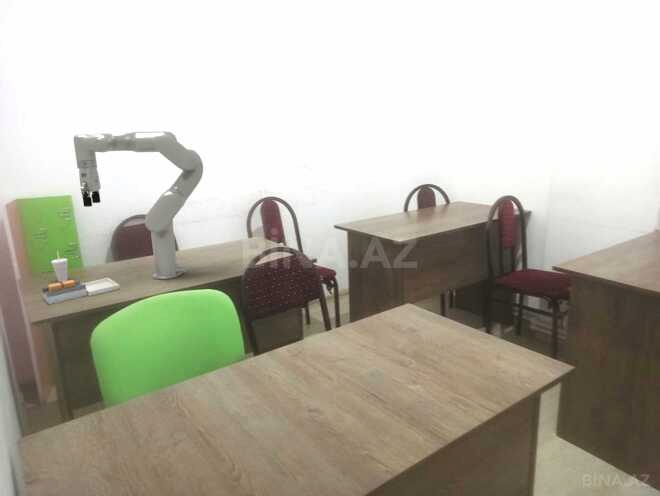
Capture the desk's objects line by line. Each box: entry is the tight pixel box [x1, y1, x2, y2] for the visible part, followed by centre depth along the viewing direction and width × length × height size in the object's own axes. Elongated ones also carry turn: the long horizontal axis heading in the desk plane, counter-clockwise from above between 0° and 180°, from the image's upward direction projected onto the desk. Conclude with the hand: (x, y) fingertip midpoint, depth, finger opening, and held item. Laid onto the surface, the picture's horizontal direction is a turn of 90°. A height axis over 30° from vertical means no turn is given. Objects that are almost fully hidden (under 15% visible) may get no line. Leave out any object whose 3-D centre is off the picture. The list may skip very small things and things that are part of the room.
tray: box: [81, 277, 121, 297], centre depth 204 cm, size 12×14×2 cm
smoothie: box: [50, 250, 69, 283], centre depth 215 cm, size 6×6×14 cm
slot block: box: [41, 279, 89, 305], centre depth 195 cm, size 14×10×4 cm
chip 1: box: [47, 282, 62, 292], centre depth 192 cm, size 4×4×3 cm
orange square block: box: [61, 279, 76, 289], centre depth 196 cm, size 4×4×3 cm
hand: (92, 204), depth 207 cm, fingers open, 9 cm apart
